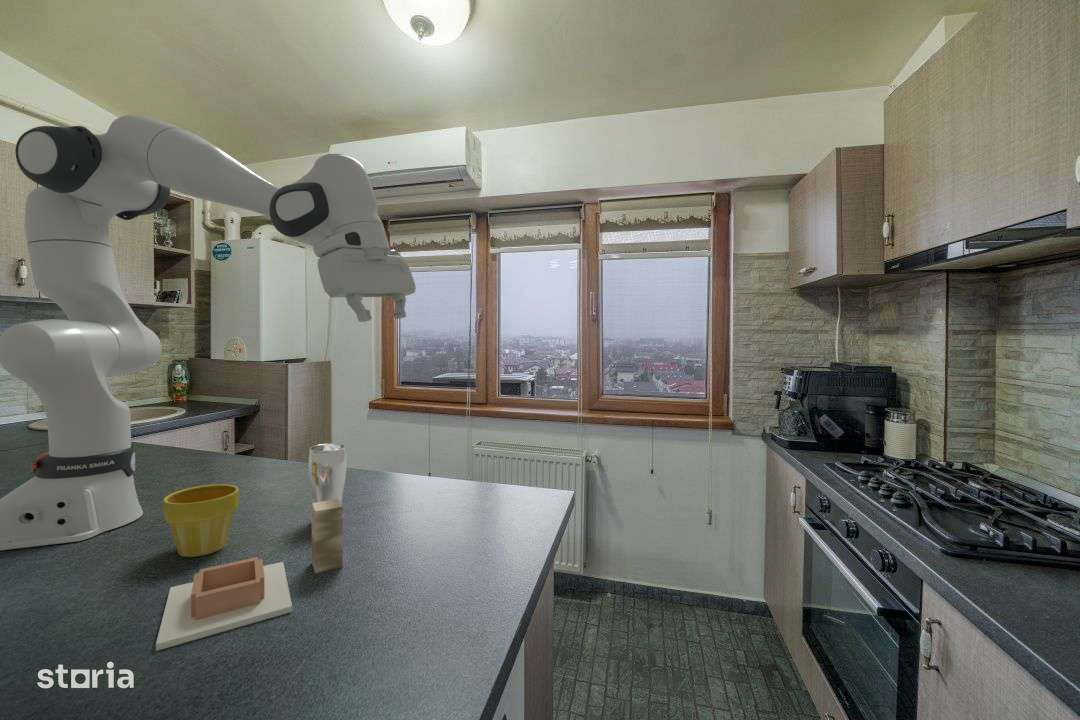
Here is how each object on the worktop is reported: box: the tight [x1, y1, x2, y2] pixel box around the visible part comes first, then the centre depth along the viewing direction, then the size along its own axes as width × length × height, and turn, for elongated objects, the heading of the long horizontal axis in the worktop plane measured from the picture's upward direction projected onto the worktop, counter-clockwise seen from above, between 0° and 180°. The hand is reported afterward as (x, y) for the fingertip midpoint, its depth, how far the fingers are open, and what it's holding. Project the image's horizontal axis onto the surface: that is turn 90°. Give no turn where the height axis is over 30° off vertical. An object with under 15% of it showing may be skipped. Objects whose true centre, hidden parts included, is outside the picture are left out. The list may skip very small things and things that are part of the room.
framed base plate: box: [155, 556, 293, 651], centre depth 61 cm, size 14×14×4 cm
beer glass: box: [307, 442, 348, 525], centre depth 89 cm, size 7×7×15 cm
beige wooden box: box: [311, 499, 344, 574], centre depth 72 cm, size 4×4×10 cm
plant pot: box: [162, 483, 240, 558], centre depth 76 cm, size 10×10×10 cm
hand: (384, 319), depth 81 cm, fingers open, 8 cm apart
